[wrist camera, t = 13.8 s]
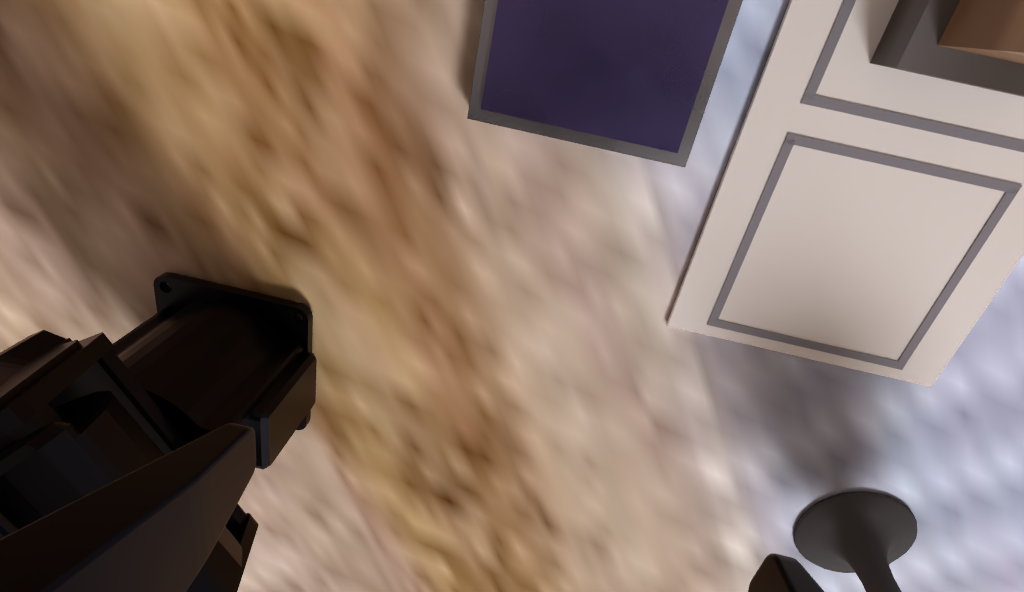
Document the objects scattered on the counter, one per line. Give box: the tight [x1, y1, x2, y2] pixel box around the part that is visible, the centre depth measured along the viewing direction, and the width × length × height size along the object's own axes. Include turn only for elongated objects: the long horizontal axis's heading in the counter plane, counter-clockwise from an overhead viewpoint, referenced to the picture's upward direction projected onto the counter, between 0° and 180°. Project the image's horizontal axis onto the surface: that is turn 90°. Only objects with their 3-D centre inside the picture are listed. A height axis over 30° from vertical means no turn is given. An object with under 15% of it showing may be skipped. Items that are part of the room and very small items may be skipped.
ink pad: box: [467, 0, 743, 167], centre depth 16 cm, size 7×8×1 cm
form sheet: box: [667, 0, 1024, 387], centre depth 17 cm, size 10×16×1 cm, turn 169°
